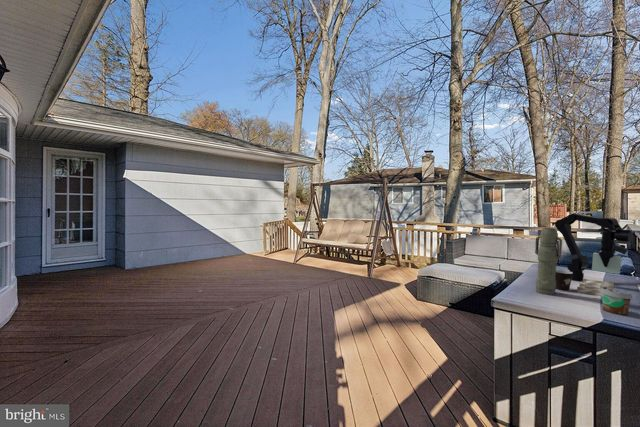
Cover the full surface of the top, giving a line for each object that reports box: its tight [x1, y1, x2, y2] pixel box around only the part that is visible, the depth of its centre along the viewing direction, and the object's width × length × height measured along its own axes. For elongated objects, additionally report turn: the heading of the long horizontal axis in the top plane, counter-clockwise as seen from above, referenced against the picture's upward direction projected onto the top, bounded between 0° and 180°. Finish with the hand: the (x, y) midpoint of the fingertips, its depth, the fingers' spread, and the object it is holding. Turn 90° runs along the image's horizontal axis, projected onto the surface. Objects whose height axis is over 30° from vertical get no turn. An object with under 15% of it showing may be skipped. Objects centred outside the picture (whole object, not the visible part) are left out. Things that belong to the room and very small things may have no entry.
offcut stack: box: [584, 281, 603, 291], centre depth 176 cm, size 8×6×5 cm
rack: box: [576, 278, 615, 297], centre depth 181 cm, size 14×26×2 cm, turn 135°
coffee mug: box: [555, 269, 573, 292], centre depth 181 cm, size 12×9×10 cm
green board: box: [591, 252, 622, 275], centre depth 186 cm, size 12×4×10 cm, turn 45°
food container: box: [600, 286, 633, 316], centre depth 147 cm, size 12×6×10 cm, turn 5°
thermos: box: [534, 227, 563, 296], centre depth 173 cm, size 9×12×35 cm
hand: (606, 266), depth 186 cm, fingers closed on green board, 4 cm apart
